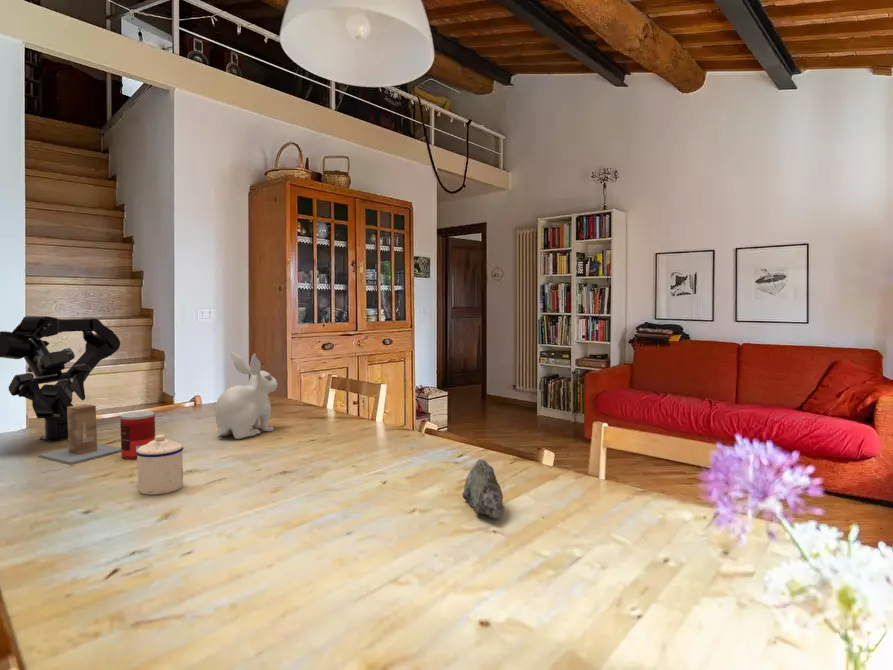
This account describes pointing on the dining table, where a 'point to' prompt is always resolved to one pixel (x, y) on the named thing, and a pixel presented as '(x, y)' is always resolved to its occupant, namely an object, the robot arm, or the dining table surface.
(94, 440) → the wooden block
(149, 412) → the canned food
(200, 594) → the dining table surface
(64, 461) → the flat gray square pad
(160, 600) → the dining table surface
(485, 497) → the mineral rock
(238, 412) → the rabbit
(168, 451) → the lidded ceramic jar
